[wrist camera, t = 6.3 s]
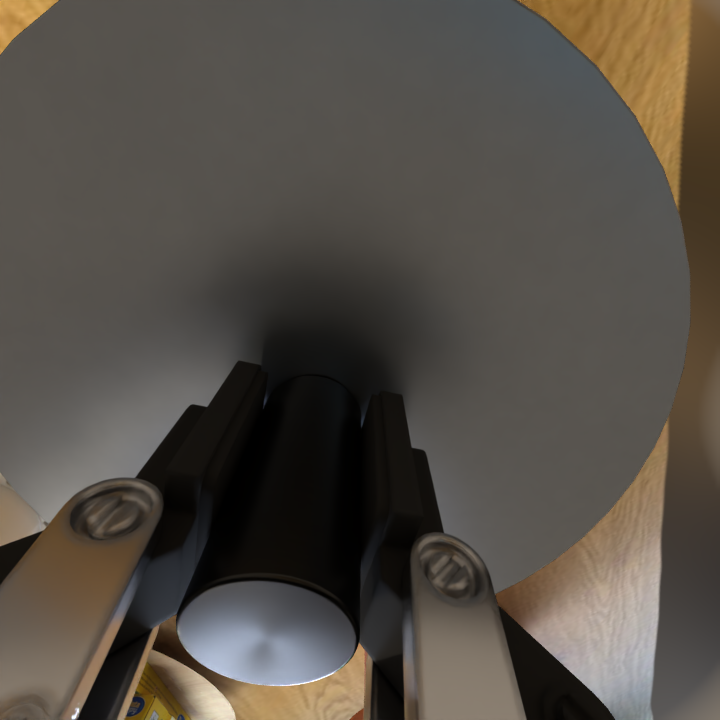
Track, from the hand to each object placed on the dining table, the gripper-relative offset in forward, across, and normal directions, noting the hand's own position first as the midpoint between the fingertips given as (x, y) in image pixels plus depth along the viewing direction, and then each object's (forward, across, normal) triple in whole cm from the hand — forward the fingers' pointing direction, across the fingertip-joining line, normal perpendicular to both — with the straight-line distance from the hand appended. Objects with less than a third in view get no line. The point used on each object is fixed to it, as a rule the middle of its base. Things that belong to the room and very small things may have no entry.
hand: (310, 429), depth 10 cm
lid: (+1, 0, 0) cm, 1 cm away
